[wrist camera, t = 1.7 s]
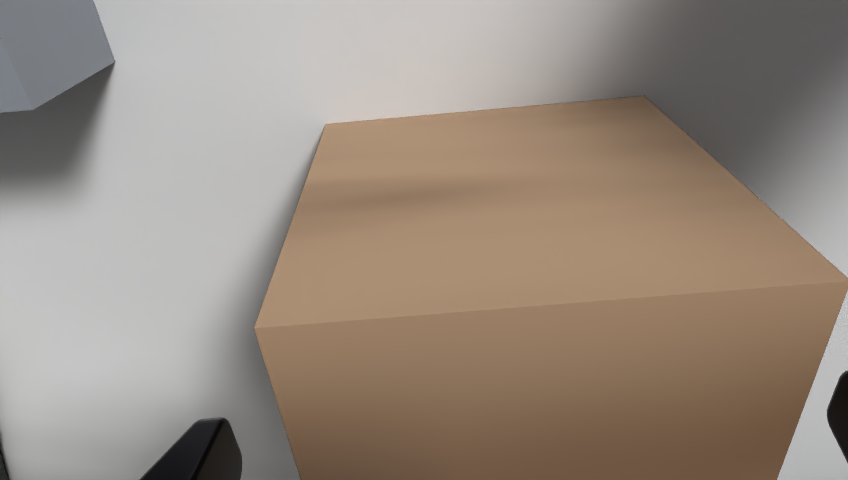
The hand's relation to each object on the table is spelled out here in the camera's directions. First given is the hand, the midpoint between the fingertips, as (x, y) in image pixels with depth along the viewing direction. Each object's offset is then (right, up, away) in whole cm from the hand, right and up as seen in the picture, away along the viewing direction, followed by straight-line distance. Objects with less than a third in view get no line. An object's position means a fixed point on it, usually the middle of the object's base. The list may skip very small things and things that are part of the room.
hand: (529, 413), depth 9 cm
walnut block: (0, +3, +4) cm, 5 cm away
